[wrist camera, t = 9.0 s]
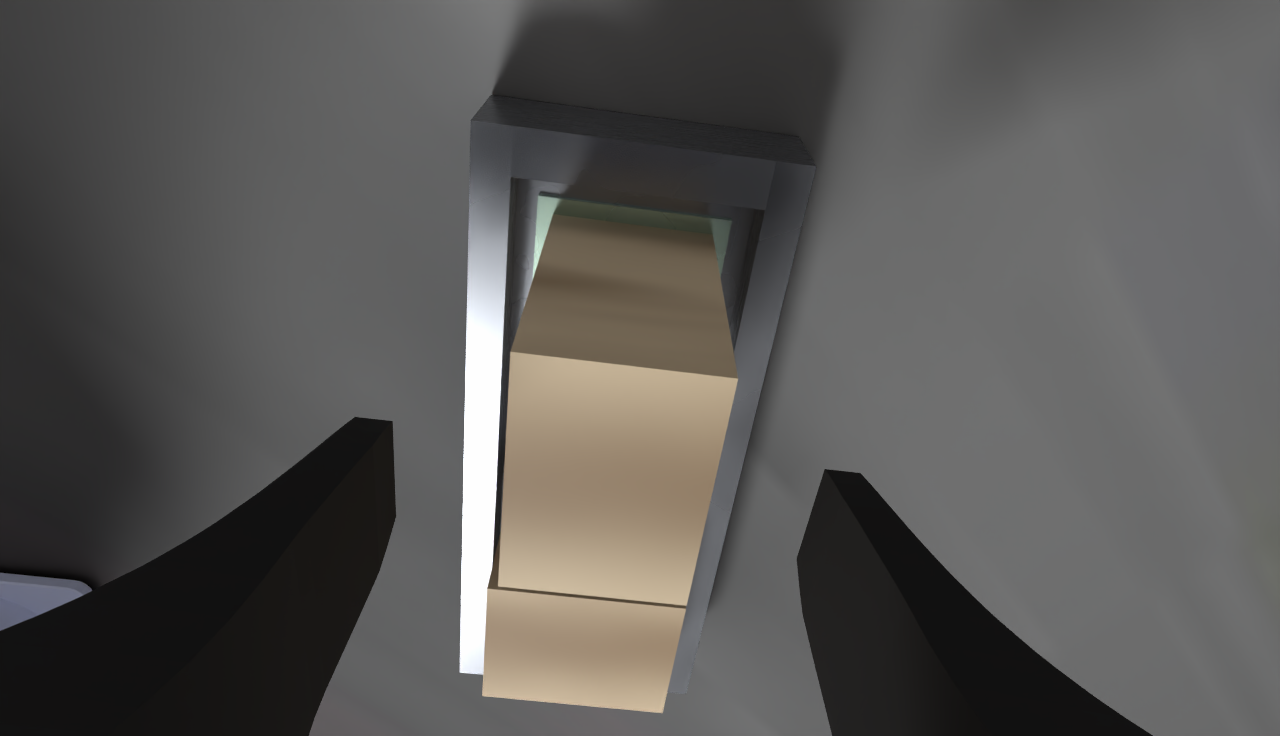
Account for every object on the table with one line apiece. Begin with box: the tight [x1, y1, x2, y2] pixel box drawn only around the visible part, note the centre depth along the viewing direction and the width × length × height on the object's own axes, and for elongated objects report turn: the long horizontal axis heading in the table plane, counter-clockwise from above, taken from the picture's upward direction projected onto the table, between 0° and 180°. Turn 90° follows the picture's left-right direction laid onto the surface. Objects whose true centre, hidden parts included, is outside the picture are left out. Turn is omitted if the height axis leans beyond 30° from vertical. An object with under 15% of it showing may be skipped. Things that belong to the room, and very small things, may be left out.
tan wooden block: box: [498, 214, 738, 606], centre depth 16 cm, size 5×4×6 cm, turn 173°
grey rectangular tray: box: [460, 95, 816, 694], centre depth 20 cm, size 16×7×2 cm, turn 173°
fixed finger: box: [482, 532, 686, 713], centre depth 21 cm, size 4×5×3 cm
